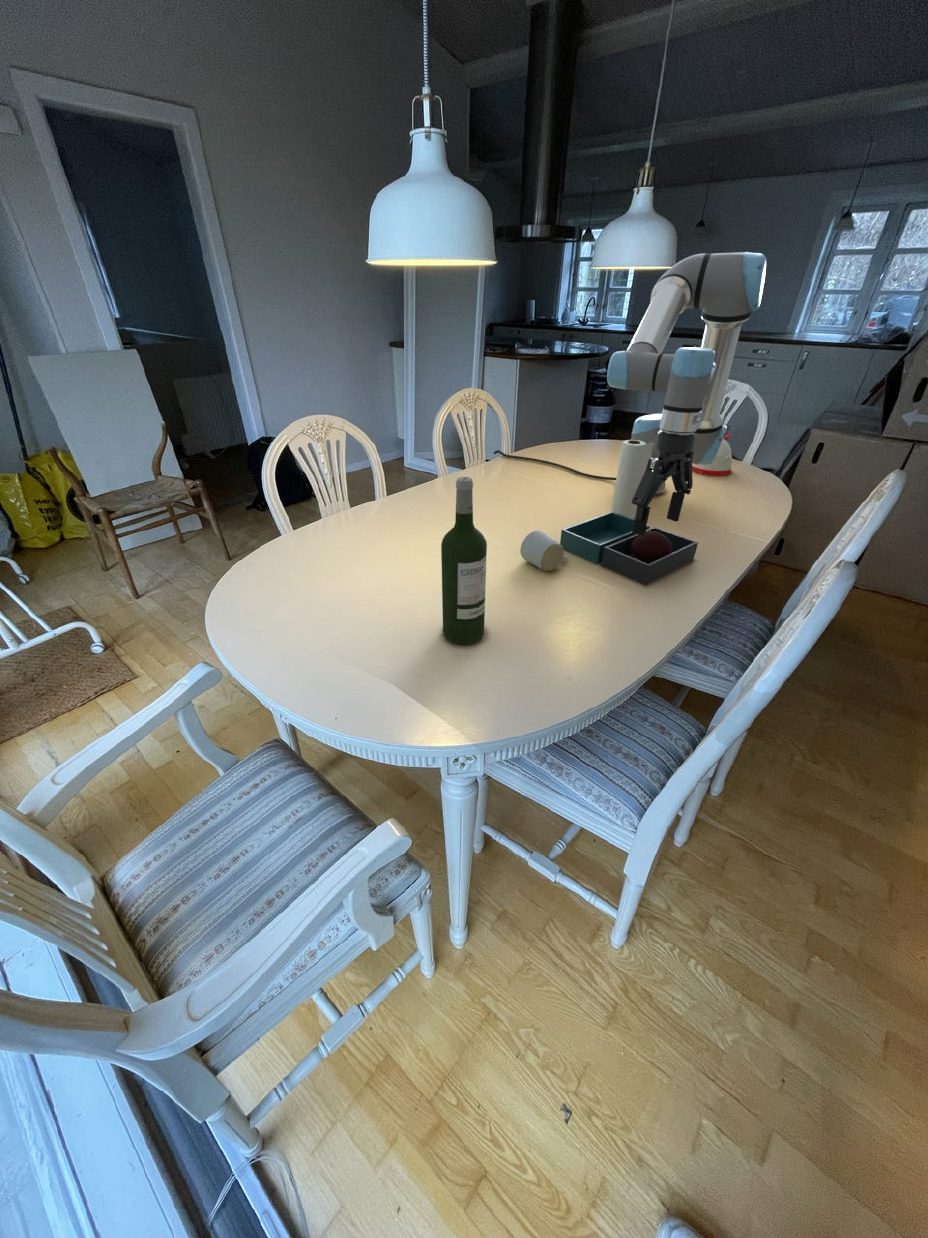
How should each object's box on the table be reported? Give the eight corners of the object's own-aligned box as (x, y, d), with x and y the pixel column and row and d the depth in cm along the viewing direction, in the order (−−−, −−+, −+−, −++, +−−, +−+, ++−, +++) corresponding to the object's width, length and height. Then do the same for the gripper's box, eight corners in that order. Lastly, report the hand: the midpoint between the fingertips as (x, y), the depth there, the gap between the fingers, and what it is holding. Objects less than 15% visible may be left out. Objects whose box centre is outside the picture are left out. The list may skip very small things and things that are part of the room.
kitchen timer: (683, 465, 193) (693, 423, 185) (717, 464, 195) (728, 423, 187) (701, 476, 182) (712, 432, 174) (737, 474, 183) (750, 431, 175)
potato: (667, 572, 118) (675, 541, 114) (626, 565, 121) (632, 535, 117) (668, 557, 125) (675, 528, 120) (629, 552, 127) (635, 523, 123)
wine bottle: (470, 650, 93) (472, 490, 76) (434, 637, 96) (430, 481, 80) (491, 630, 98) (498, 476, 82) (457, 618, 102) (457, 468, 86)
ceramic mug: (541, 576, 117) (545, 545, 113) (518, 563, 122) (521, 533, 118) (574, 565, 122) (578, 535, 118) (550, 553, 128) (554, 524, 124)
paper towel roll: (606, 516, 148) (618, 441, 137) (616, 511, 152) (629, 437, 140) (628, 523, 144) (643, 446, 133) (638, 517, 148) (653, 442, 136)
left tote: (559, 547, 130) (561, 529, 128) (608, 528, 141) (611, 511, 138) (597, 564, 122) (600, 545, 120) (646, 542, 133) (650, 525, 130)
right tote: (601, 565, 122) (604, 547, 119) (650, 544, 132) (654, 526, 130) (644, 585, 114) (649, 565, 111) (693, 560, 124) (698, 542, 122)
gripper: (658, 443, 97) (637, 545, 109) (724, 426, 111) (699, 519, 122) (626, 435, 102) (609, 534, 113) (692, 421, 115) (671, 510, 127)
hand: (655, 526), depth 118 cm, fingers open, 13 cm apart
